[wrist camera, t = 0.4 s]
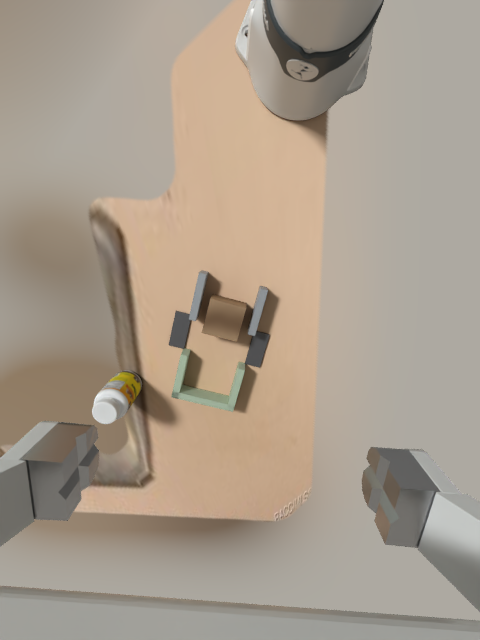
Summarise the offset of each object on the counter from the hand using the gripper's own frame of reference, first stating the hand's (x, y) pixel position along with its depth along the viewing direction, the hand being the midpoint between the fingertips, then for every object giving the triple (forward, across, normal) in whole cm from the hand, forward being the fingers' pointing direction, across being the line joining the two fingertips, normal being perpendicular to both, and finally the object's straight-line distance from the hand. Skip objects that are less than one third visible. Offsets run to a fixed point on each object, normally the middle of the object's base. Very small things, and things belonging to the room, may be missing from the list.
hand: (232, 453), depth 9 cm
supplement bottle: (+44, +20, +22) cm, 53 cm away
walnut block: (+44, +2, +8) cm, 45 cm away
